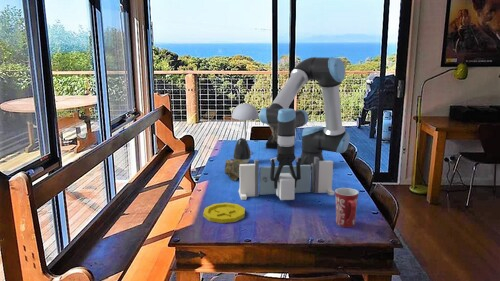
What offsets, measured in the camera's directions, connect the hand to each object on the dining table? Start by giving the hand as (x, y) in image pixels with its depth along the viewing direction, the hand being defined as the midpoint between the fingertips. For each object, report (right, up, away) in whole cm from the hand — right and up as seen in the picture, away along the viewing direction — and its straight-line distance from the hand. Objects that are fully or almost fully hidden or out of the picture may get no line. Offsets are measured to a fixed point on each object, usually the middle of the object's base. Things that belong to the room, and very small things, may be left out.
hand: (285, 194), depth 185 cm
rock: (-23, +5, +36) cm, 43 cm away
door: (+2, -1, +10) cm, 10 cm away
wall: (+1, -1, +11) cm, 11 cm away
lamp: (-19, +16, +83) cm, 86 cm away
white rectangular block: (0, 0, 0) cm, 0 cm away
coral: (0, +20, +104) cm, 106 cm away
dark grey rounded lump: (-20, +11, +61) cm, 65 cm away
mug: (+22, -9, -24) cm, 34 cm away
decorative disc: (-26, -7, -13) cm, 30 cm away
